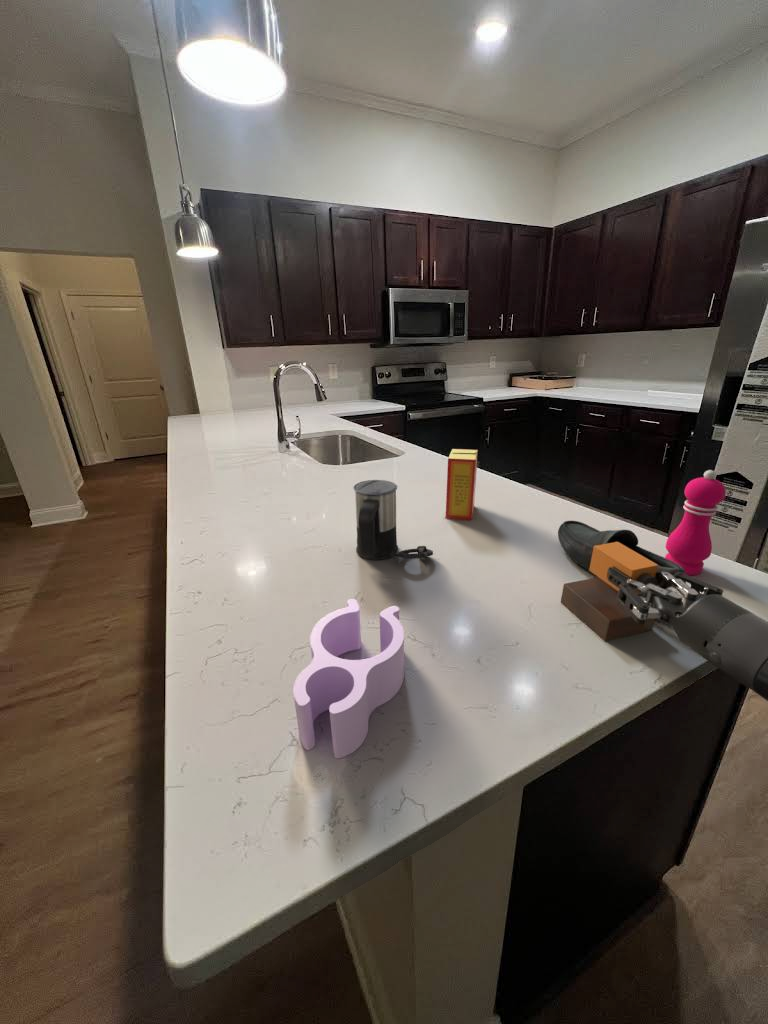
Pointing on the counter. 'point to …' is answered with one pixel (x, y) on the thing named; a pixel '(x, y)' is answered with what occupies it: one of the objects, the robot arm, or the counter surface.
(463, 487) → the baking soda box
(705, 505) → the pepper mill
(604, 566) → the orange square bottle
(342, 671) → the clip
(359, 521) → the milk frother
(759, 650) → the robot arm
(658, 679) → the counter surface
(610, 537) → the loafer
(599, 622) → the box
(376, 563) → the counter surface
